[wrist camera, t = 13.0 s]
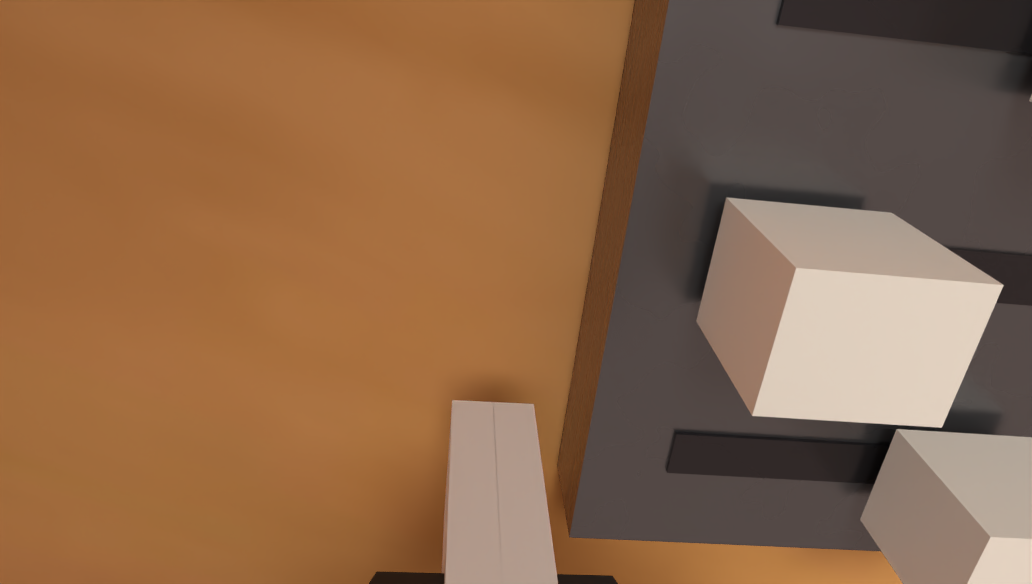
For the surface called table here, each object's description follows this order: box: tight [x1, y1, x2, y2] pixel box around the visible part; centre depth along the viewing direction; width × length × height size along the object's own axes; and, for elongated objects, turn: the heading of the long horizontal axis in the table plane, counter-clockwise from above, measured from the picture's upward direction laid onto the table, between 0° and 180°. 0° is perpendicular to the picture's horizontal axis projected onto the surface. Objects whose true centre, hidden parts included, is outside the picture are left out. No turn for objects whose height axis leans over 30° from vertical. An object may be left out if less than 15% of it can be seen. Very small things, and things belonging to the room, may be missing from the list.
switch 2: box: [860, 429, 1032, 584], centre depth 14 cm, size 2×3×3 cm
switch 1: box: [696, 197, 1004, 428], centre depth 12 cm, size 2×3×3 cm
